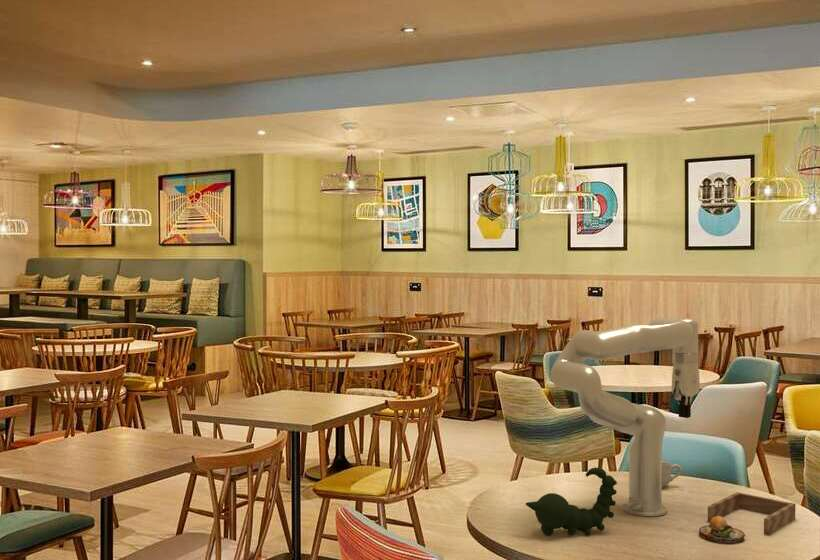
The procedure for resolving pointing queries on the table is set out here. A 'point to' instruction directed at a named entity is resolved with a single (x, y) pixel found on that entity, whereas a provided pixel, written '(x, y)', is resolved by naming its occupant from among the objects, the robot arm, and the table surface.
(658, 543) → the table surface
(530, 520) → the table surface
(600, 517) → the toy figurine
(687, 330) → the robot arm
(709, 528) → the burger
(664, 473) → the teacup
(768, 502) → the wooden u-shaped wall
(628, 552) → the table surface
